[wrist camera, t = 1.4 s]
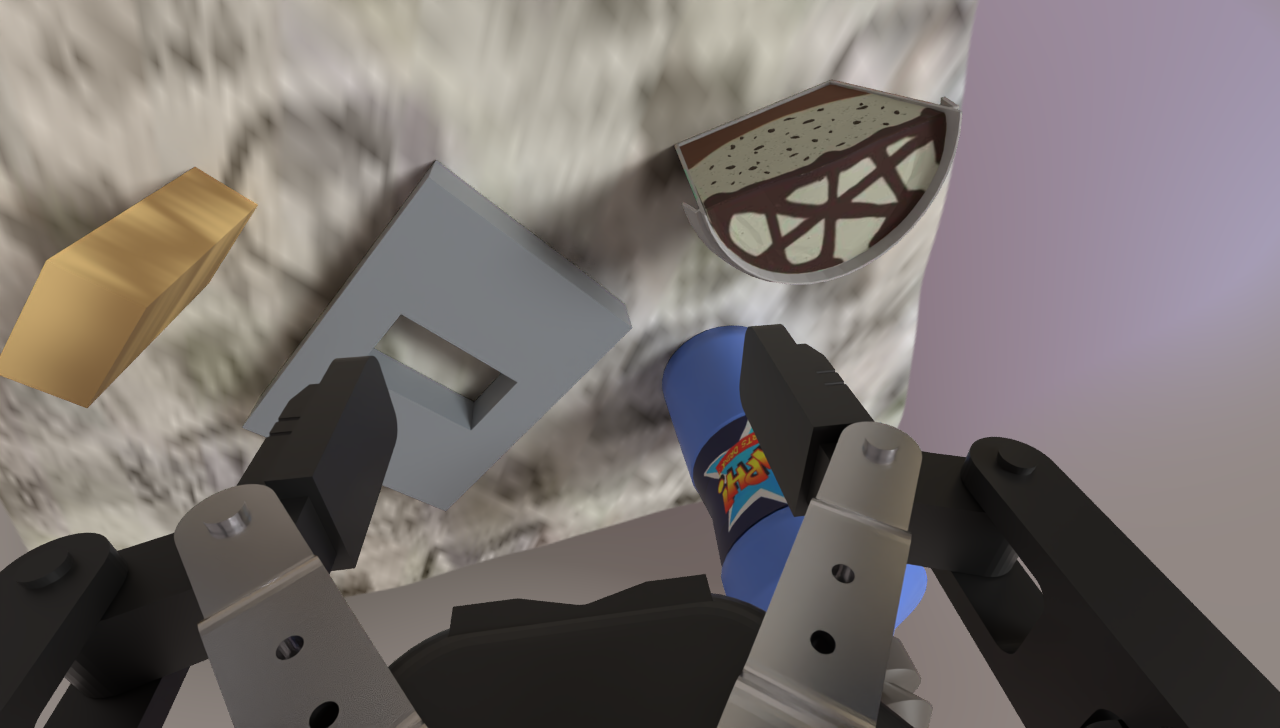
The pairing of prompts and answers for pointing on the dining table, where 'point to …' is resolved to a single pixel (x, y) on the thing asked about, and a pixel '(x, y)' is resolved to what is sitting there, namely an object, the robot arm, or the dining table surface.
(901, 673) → the water bottle
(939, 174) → the food container
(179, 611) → the robot arm
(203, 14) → the dining table surface
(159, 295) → the keyed peg
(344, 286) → the keyed plate
